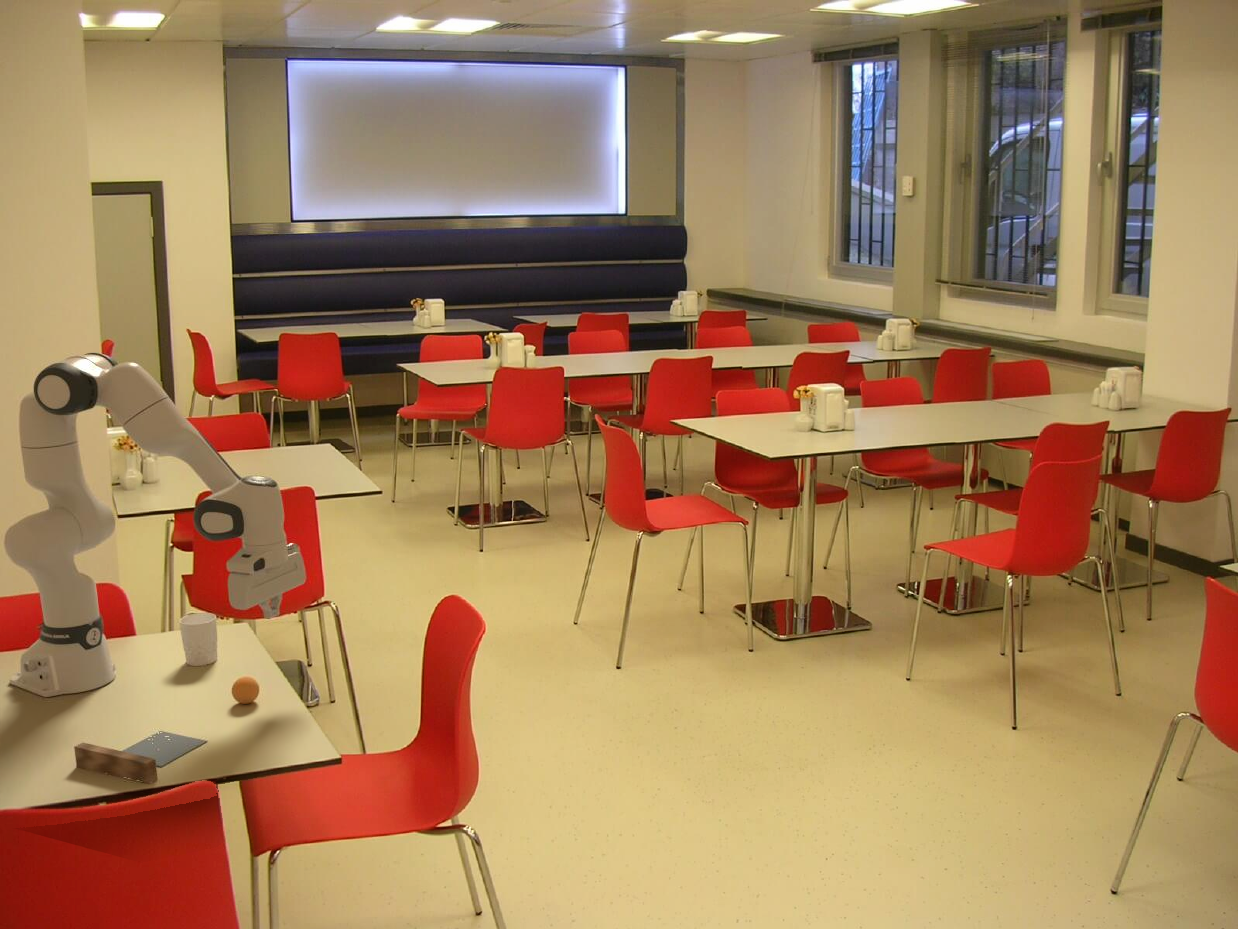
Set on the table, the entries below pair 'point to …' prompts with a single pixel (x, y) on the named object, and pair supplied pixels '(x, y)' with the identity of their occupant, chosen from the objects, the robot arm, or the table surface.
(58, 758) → the table surface
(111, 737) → the table surface
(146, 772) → the stopper wall
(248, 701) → the ball
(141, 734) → the table surface
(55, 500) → the robot arm
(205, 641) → the white cup
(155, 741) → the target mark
